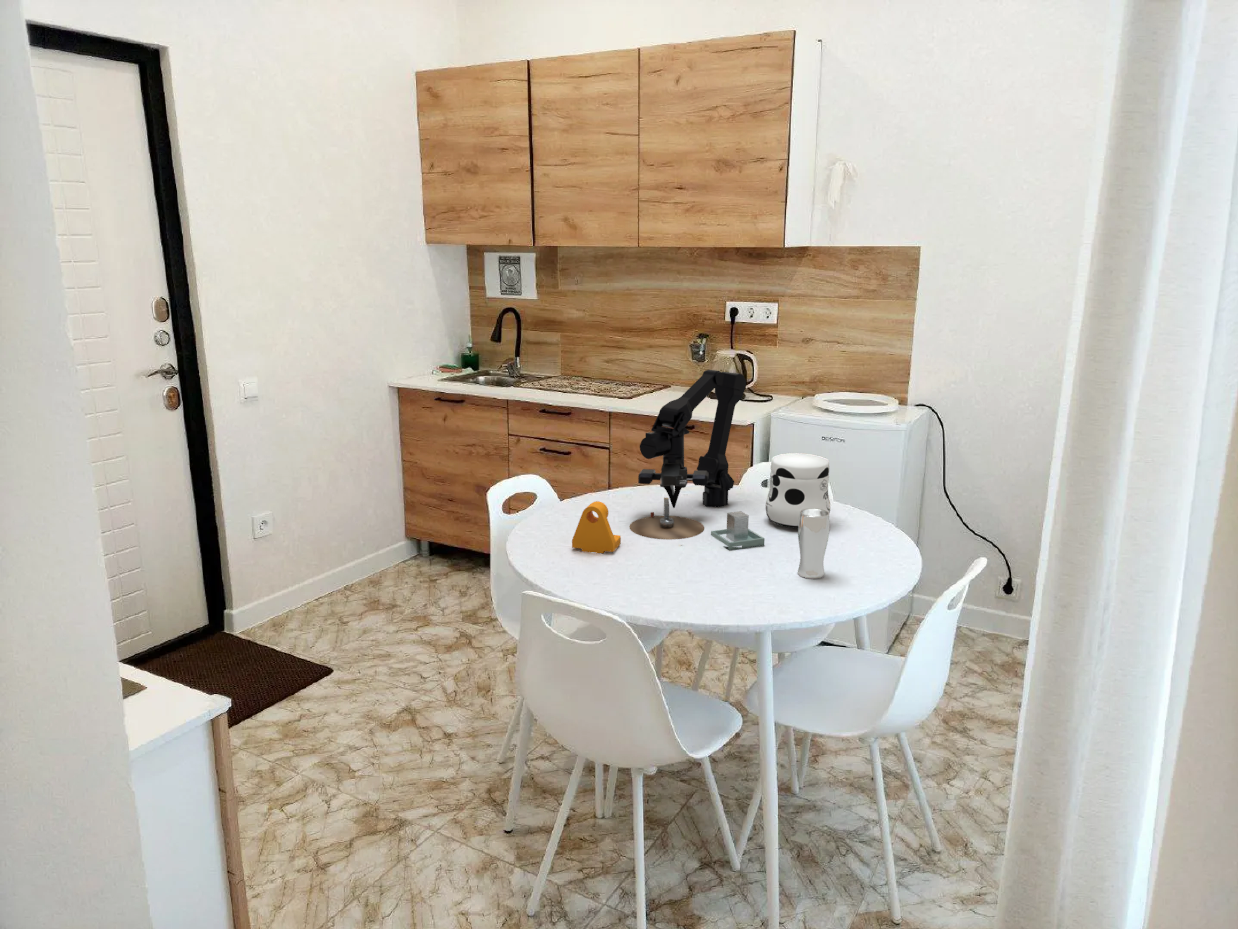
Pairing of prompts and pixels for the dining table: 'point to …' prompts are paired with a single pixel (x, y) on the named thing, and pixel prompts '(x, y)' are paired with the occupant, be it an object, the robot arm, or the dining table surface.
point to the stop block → (737, 526)
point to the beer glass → (812, 542)
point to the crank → (666, 515)
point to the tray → (752, 541)
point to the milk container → (797, 487)
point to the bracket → (595, 531)
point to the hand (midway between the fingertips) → (673, 507)
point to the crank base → (666, 528)
